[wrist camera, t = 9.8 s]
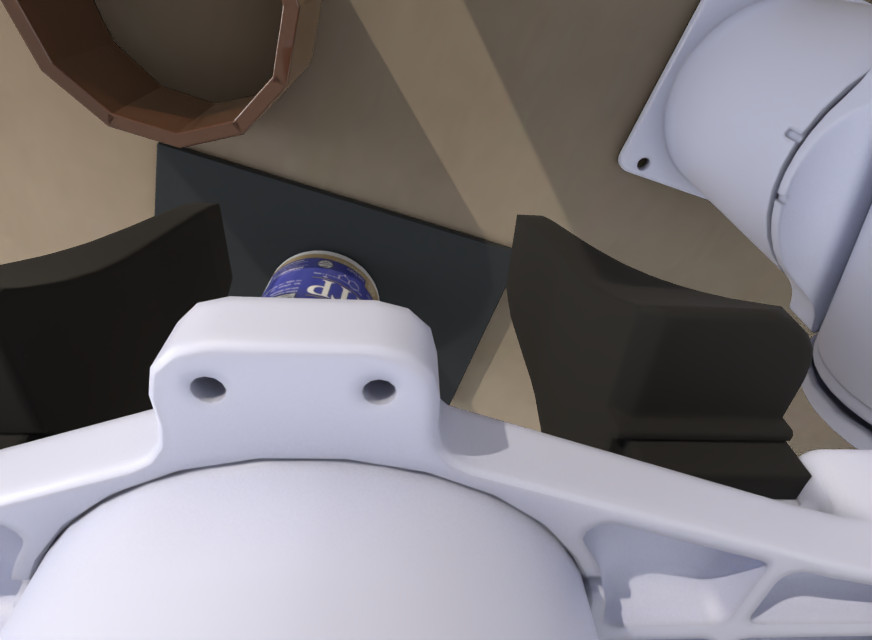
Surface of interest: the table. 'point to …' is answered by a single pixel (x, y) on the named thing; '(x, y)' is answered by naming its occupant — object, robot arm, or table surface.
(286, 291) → the pill bottle
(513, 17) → the table surface
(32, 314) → the robot arm
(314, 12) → the brown bowl
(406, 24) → the table surface
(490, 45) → the table surface
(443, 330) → the mat
